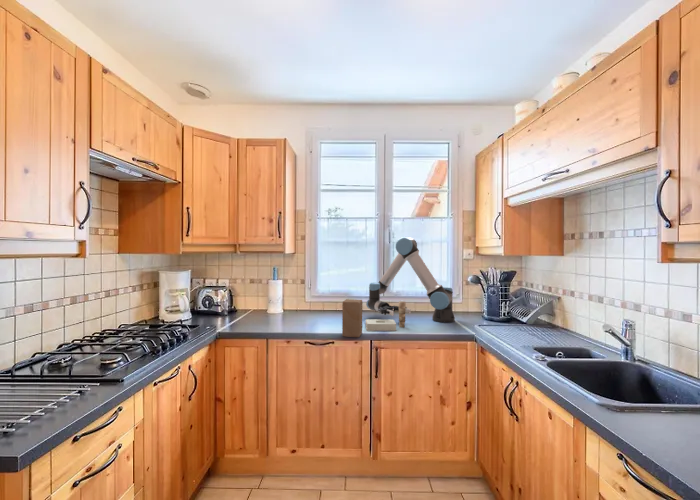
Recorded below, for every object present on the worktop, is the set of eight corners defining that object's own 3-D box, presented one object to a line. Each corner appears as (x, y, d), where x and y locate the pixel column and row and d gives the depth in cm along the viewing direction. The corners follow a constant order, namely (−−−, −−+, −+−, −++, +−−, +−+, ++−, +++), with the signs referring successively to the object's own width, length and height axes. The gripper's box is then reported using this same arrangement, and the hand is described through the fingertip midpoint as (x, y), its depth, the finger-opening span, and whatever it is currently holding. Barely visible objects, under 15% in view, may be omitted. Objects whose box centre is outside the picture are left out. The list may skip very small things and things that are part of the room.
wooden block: (359, 337, 206) (359, 302, 205) (342, 336, 208) (342, 301, 207) (362, 333, 216) (362, 299, 215) (345, 332, 218) (346, 299, 217)
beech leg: (404, 326, 234) (405, 301, 234) (405, 327, 230) (406, 302, 230) (398, 326, 234) (398, 301, 234) (398, 327, 230) (399, 302, 230)
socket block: (393, 325, 236) (393, 319, 236) (396, 330, 223) (396, 324, 223) (365, 325, 235) (365, 319, 235) (366, 330, 222) (366, 323, 222)
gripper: (396, 310, 256) (416, 316, 238) (367, 314, 244) (385, 320, 225) (396, 300, 256) (416, 304, 238) (367, 303, 244) (385, 308, 225)
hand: (401, 312), depth 232 cm, fingers open, 13 cm apart
